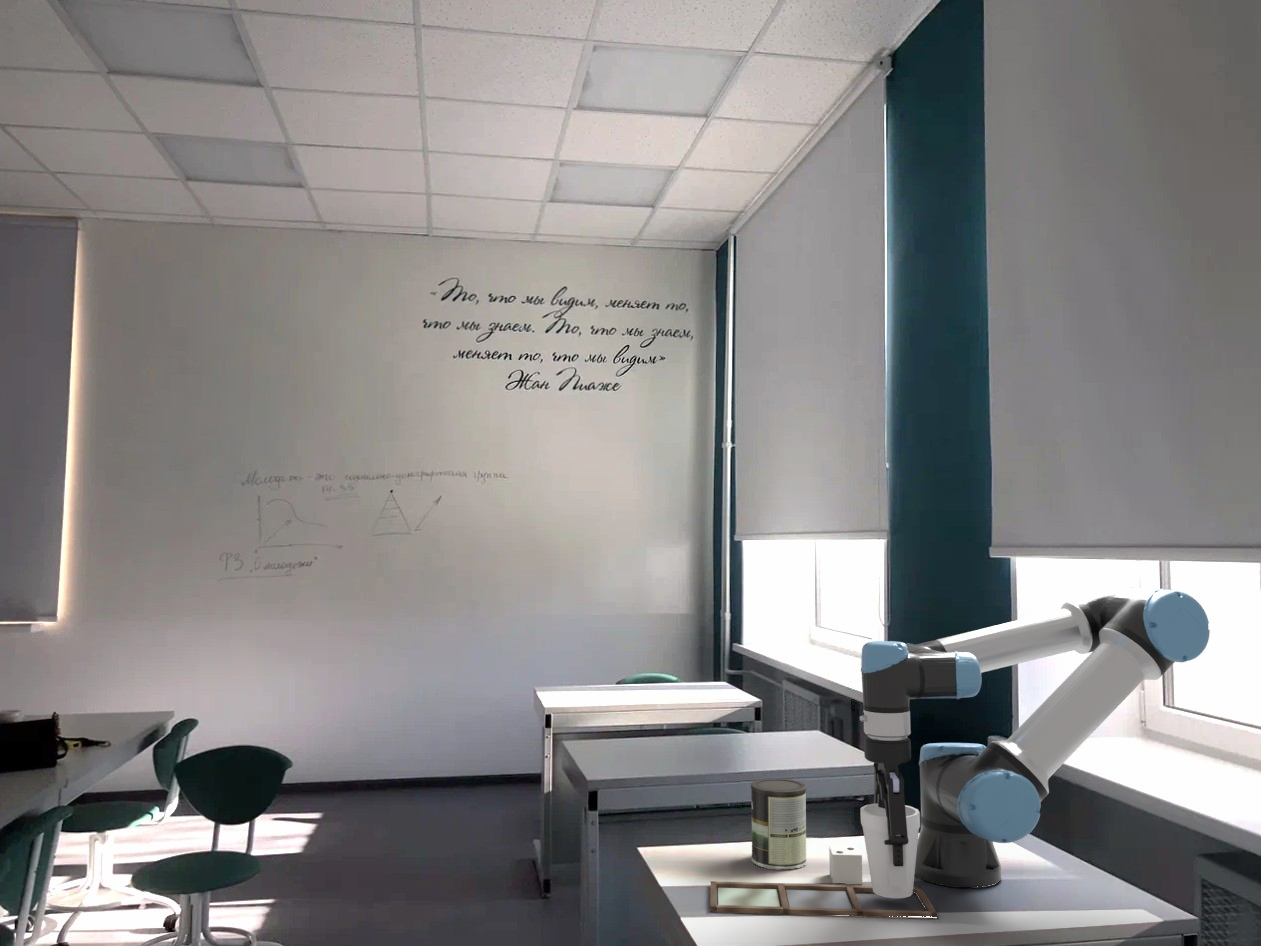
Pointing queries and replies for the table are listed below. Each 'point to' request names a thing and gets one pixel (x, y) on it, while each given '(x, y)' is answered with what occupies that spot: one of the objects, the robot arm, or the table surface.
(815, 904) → the walnut frame
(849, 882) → the white die
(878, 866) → the foam cup
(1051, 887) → the table surface
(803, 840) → the coffee can
